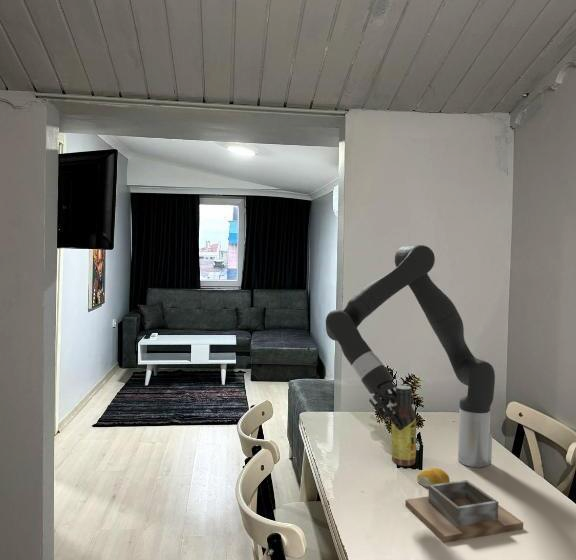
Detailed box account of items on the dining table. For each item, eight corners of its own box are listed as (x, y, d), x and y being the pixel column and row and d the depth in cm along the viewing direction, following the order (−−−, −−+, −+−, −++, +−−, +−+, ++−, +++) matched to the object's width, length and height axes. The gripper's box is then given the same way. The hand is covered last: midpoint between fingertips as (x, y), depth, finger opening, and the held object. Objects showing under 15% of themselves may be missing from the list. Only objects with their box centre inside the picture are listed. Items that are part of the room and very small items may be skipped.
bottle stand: (476, 494, 142) (476, 473, 142) (523, 528, 125) (524, 504, 124) (405, 505, 136) (405, 483, 135) (444, 542, 118) (445, 517, 118)
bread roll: (454, 484, 149) (455, 470, 148) (434, 492, 144) (434, 478, 143) (432, 473, 155) (432, 461, 155) (411, 481, 150) (412, 467, 150)
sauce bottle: (416, 468, 130) (416, 391, 128) (391, 466, 131) (391, 390, 130) (415, 457, 136) (416, 384, 135) (391, 456, 138) (391, 383, 136)
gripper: (364, 368, 132) (404, 424, 125) (394, 359, 142) (433, 410, 135) (347, 385, 136) (385, 440, 129) (378, 375, 146) (415, 425, 139)
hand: (409, 424), depth 132 cm, fingers closed on sauce bottle, 6 cm apart
